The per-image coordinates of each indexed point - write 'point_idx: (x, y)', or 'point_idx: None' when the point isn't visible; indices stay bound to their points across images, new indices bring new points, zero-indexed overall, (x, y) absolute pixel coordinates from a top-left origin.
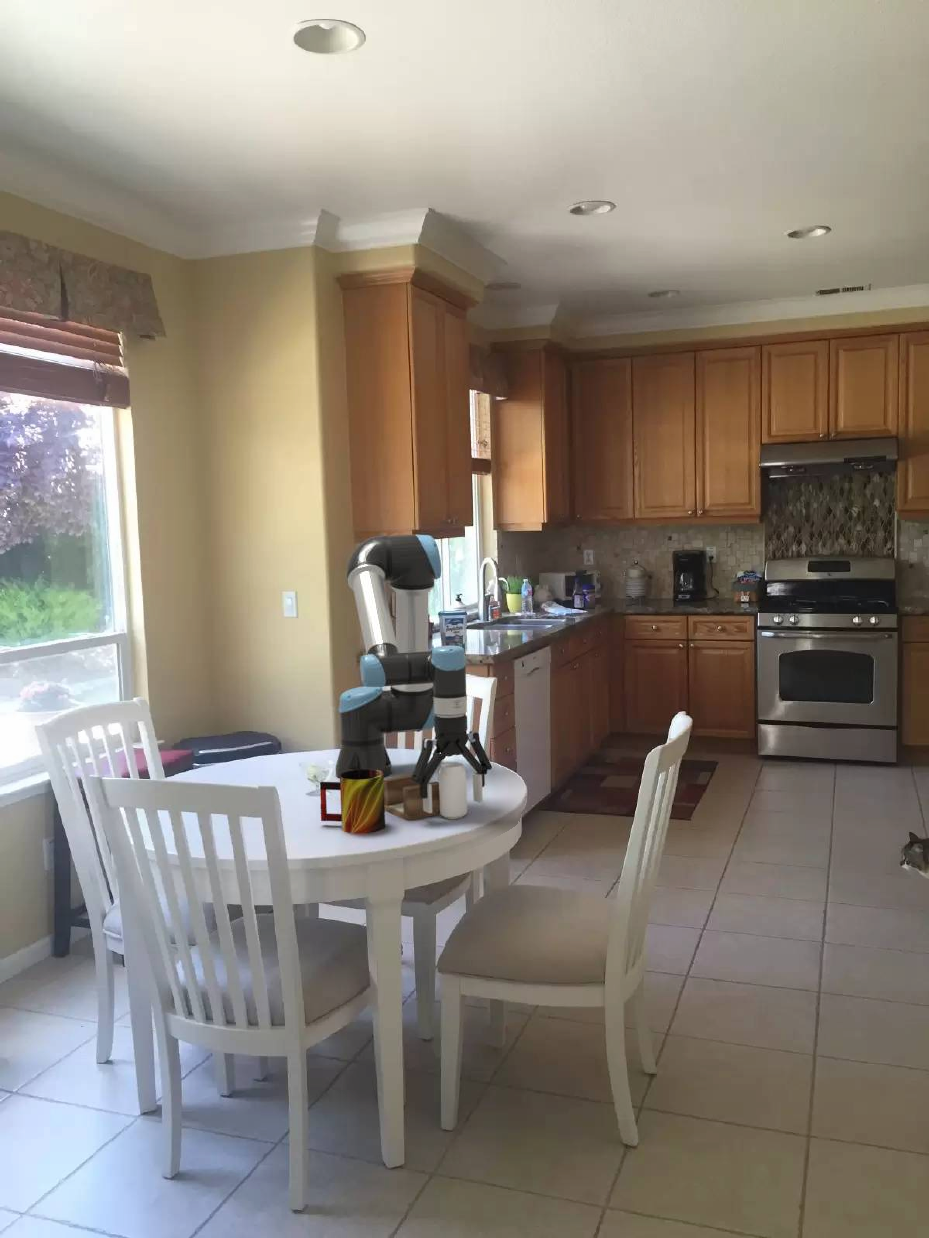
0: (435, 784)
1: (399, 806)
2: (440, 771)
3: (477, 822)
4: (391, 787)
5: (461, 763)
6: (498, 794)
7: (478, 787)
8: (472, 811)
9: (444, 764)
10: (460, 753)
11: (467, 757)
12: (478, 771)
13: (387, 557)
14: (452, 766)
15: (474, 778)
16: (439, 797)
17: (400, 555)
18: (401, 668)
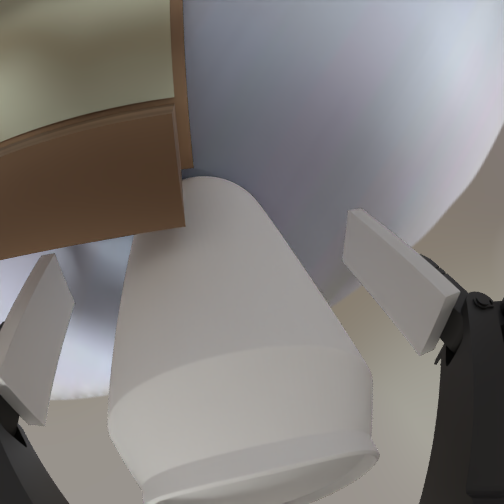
0: (110, 234)
1: (3, 35)
2: (122, 458)
3: None
4: None
5: (365, 472)
6: (482, 80)
7: (381, 297)
8: (309, 206)
9: (219, 469)
10: (465, 498)
11: (429, 487)
12: (453, 333)
13: None
14: (249, 501)
15: (418, 291)
16: (126, 269)
17: None
18: None
